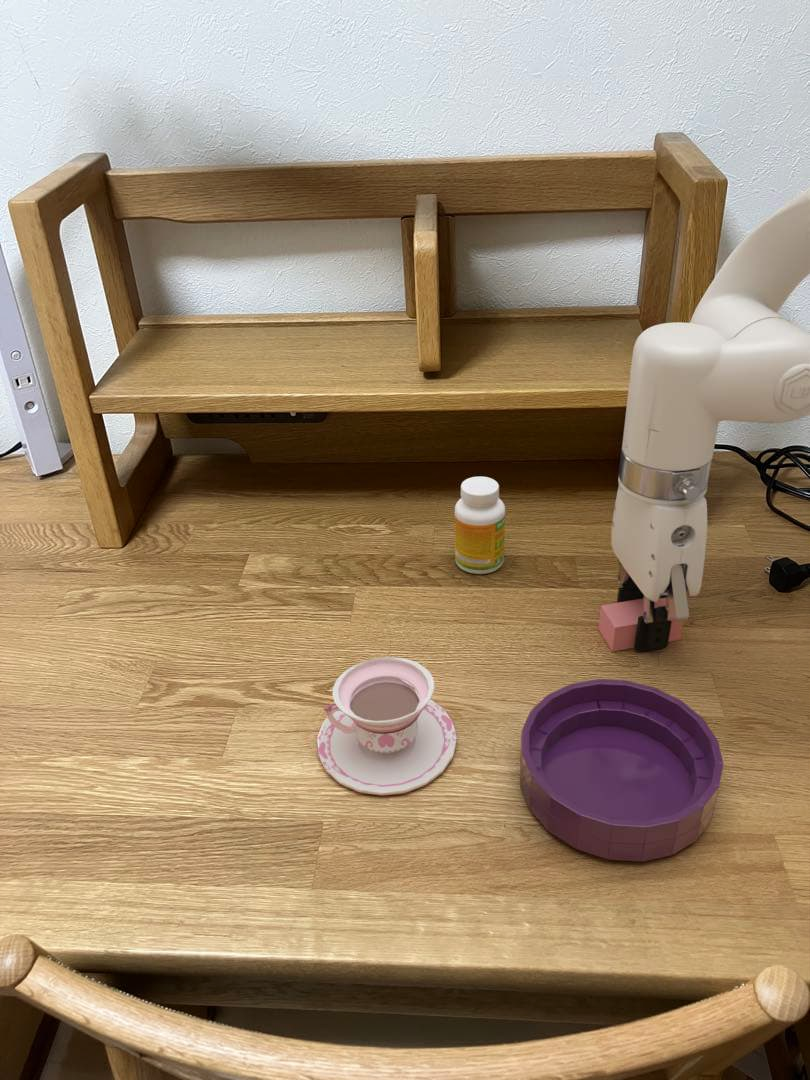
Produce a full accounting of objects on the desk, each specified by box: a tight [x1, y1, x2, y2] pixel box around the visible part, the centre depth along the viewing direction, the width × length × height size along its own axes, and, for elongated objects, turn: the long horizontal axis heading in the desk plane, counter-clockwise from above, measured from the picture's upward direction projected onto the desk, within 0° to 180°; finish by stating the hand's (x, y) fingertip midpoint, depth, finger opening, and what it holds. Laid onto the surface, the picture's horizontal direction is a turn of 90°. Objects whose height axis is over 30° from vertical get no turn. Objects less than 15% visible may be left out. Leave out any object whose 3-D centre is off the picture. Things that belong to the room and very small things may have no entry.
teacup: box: [316, 656, 458, 796], centre depth 75 cm, size 12×12×6 cm
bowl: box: [519, 678, 724, 862], centre depth 71 cm, size 15×15×4 cm
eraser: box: [598, 598, 684, 652], centre depth 87 cm, size 7×4×3 cm, turn 102°
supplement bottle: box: [454, 476, 506, 575], centre depth 96 cm, size 5×5×10 cm
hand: (640, 631), depth 87 cm, fingers open, 3 cm apart
